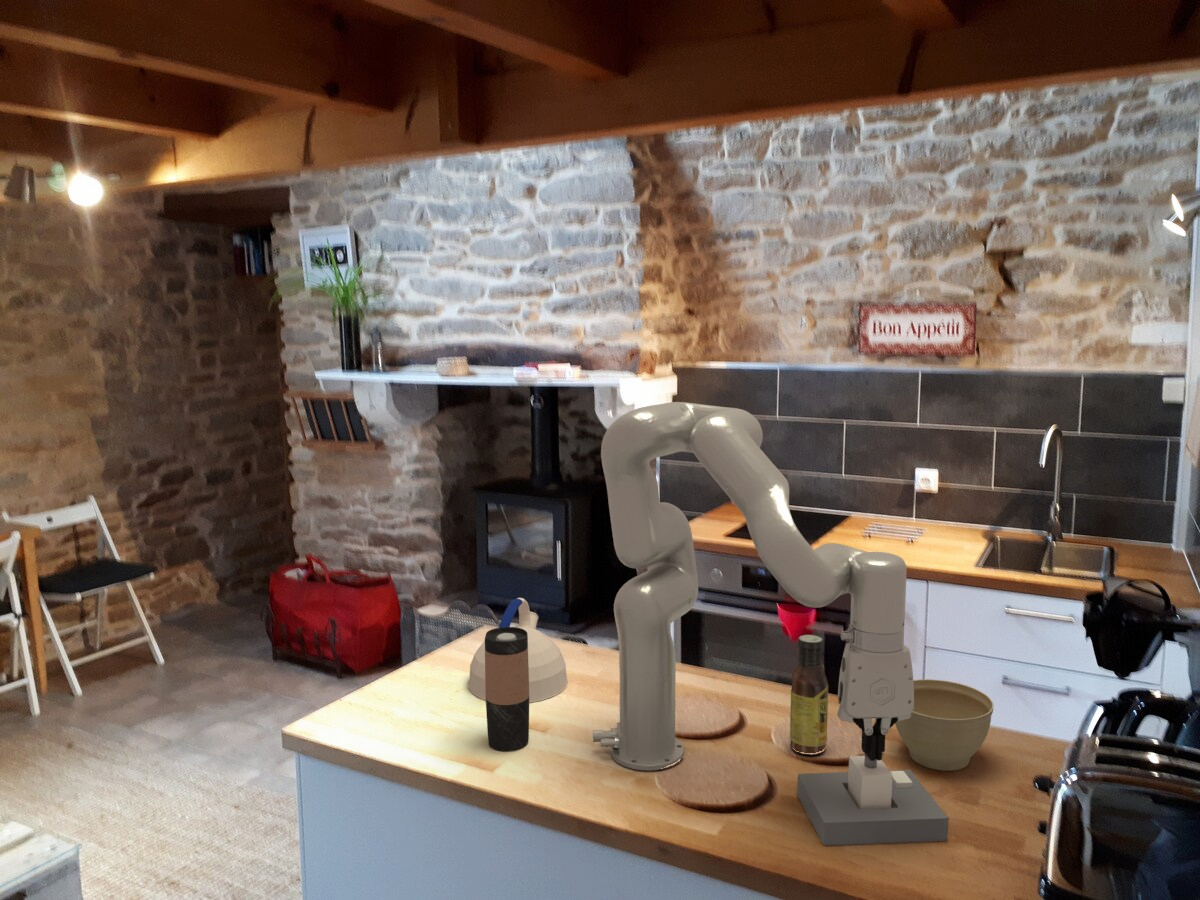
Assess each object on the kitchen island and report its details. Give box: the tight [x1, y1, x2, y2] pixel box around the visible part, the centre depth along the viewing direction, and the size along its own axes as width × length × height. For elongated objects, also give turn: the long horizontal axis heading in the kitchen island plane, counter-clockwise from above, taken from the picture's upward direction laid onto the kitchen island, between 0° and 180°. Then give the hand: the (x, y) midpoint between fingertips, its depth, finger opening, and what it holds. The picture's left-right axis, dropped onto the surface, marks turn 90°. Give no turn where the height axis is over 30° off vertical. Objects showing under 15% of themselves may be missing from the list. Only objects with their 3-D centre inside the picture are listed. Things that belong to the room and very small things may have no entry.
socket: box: [796, 769, 950, 847], centre depth 138 cm, size 18×14×4 cm
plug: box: [847, 753, 893, 809], centre depth 138 cm, size 4×6×9 cm
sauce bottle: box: [789, 634, 829, 753], centre depth 158 cm, size 6×6×20 cm
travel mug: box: [484, 626, 530, 753], centre depth 161 cm, size 8×8×20 cm
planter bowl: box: [894, 678, 994, 772], centre depth 155 cm, size 16×16×11 cm
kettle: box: [468, 597, 569, 704], centre depth 187 cm, size 20×21×18 cm
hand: (872, 756), depth 137 cm, fingers closed
